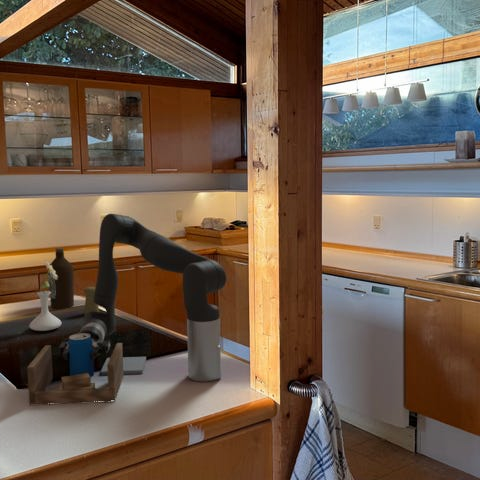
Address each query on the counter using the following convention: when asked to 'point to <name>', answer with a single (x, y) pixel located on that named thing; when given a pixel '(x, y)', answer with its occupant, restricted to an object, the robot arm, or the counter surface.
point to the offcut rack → (43, 376)
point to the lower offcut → (81, 388)
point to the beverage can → (80, 354)
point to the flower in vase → (45, 308)
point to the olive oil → (61, 282)
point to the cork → (90, 300)
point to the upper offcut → (76, 381)
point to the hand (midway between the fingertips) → (79, 356)
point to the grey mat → (128, 365)
